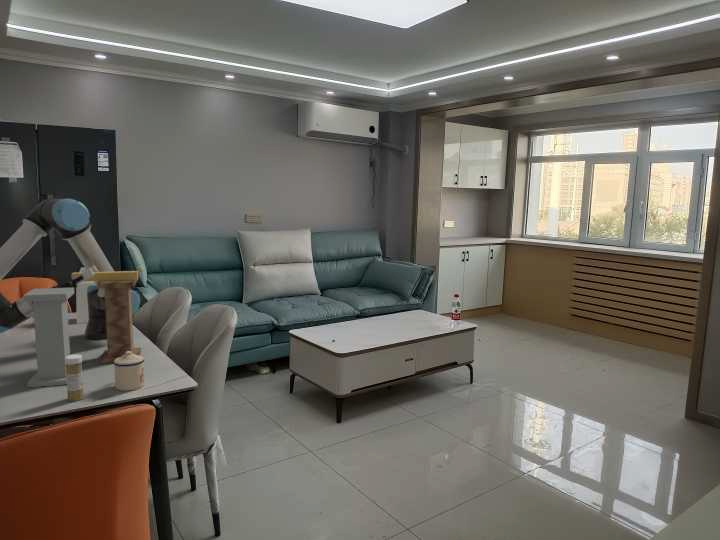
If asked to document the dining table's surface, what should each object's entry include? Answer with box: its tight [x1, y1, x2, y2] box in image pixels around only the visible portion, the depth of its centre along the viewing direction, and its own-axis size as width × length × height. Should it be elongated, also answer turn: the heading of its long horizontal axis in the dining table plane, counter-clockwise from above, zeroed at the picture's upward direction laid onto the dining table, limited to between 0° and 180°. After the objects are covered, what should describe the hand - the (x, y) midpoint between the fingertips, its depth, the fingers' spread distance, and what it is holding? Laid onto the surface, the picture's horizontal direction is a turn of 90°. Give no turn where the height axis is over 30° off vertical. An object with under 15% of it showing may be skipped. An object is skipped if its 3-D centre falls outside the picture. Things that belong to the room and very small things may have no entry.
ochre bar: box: [70, 270, 139, 282], centre depth 194 cm, size 22×3×3 cm, turn 108°
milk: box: [75, 267, 95, 324], centre depth 255 cm, size 12×12×26 cm
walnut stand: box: [97, 280, 142, 365], centre depth 197 cm, size 13×13×30 cm
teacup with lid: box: [113, 351, 145, 392], centre depth 171 cm, size 12×9×12 cm
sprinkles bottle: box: [65, 354, 85, 402], centre depth 158 cm, size 5×5×14 cm
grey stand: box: [22, 286, 75, 388], centre depth 173 cm, size 13×13×30 cm
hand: (94, 270), depth 192 cm, fingers open, 8 cm apart
